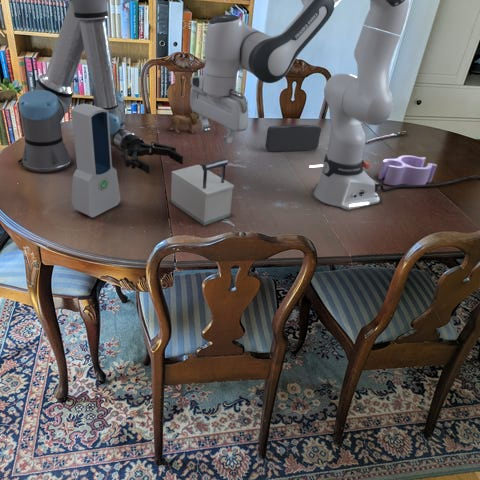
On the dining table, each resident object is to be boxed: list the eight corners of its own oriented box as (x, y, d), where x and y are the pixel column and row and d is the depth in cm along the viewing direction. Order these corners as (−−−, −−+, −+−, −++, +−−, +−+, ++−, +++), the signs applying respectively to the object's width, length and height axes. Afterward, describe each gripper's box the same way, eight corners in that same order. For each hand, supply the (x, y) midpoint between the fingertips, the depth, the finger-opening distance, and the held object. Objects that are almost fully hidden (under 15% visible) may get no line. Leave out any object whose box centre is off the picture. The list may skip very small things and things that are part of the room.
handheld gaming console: (315, 147, 196) (319, 124, 190) (317, 149, 194) (322, 126, 188) (264, 149, 189) (267, 125, 183) (266, 152, 187) (269, 127, 181)
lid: (233, 188, 136) (236, 162, 131) (206, 196, 130) (208, 169, 125) (198, 166, 146) (199, 142, 141) (171, 173, 140) (171, 148, 135)
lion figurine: (198, 128, 202) (199, 107, 197) (202, 132, 198) (203, 111, 193) (165, 129, 197) (165, 108, 192) (167, 134, 193) (168, 112, 188)
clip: (390, 188, 168) (396, 170, 164) (372, 173, 178) (376, 156, 174) (435, 185, 175) (441, 168, 171) (415, 170, 184) (420, 154, 181)
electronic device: (90, 219, 132) (80, 115, 116) (71, 210, 135) (59, 108, 119) (121, 203, 141) (116, 105, 125) (103, 195, 144) (96, 99, 128)
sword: (403, 131, 224) (404, 129, 223) (408, 133, 222) (409, 131, 221) (360, 143, 208) (360, 140, 207) (365, 145, 206) (366, 142, 205)
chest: (230, 215, 141) (232, 187, 136) (203, 225, 135) (205, 196, 130) (196, 194, 151) (198, 166, 146) (171, 202, 145) (171, 174, 140)
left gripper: (158, 146, 175) (194, 166, 163) (98, 161, 159) (133, 184, 147) (158, 127, 171) (195, 146, 159) (96, 140, 155) (132, 162, 143)
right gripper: (257, 94, 115) (251, 147, 122) (205, 74, 127) (203, 123, 134) (238, 97, 111) (233, 152, 118) (186, 76, 123) (185, 127, 131)
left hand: (165, 164), depth 153 cm, fingers open, 13 cm apart
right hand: (216, 136), depth 126 cm, fingers open, 8 cm apart
